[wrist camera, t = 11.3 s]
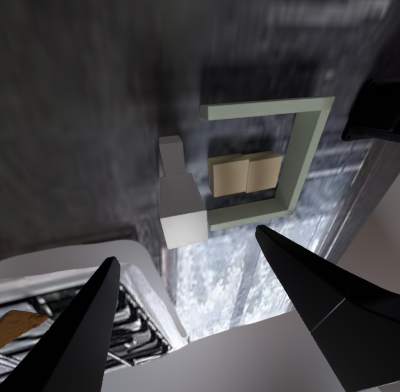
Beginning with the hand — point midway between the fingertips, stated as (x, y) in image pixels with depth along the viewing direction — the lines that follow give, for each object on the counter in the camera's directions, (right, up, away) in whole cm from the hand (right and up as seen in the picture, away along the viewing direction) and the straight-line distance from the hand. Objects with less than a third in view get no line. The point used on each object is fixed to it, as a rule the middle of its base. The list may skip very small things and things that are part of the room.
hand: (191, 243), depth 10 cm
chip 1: (+3, +6, +10) cm, 12 cm away
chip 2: (+7, +7, +10) cm, 14 cm away
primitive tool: (-35, -21, +17) cm, 44 cm away
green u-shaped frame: (+6, +7, +10) cm, 13 cm away
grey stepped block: (-2, +5, +8) cm, 10 cm away
